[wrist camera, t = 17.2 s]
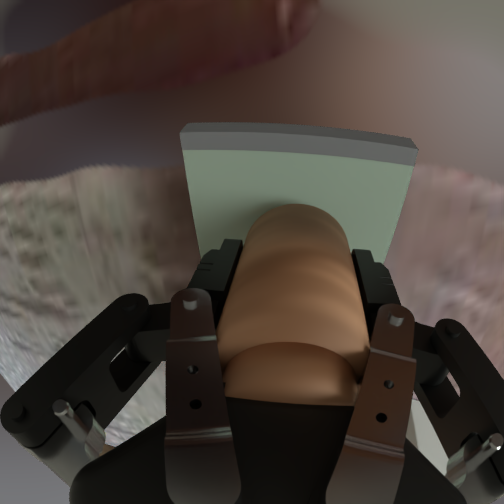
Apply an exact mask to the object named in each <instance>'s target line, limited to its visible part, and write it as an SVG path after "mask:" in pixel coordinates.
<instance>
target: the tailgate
mask: <svg viewBox="0 0 504 504" xmlns="http://www.w3.org/2000/svg"><path fill="white" fill-rule="evenodd" d="M180 140H181V146H182V151H183V157H184V164H185V170H186V177H187V183H188V189H189V195H190V201H191V207H192V213H193V218H194V224H195V229H196V235H197V240H198V246H199V251H200V256H201V259H202V257H203V255H204V254H206V253H207V252H208V251H210V250H211V249H217V250H220V248H221V245H222V243H223V241H224V239H239V240H242V241H243V246H244V243H245V240H246V237H247V234H248V231H249V230H250V228H251V226H252V225H253V223H254V222H255V221H256V220H257V219H258V218H259V217H260V216H261V215H263V214H264V213H265V212H267V211H269V210H271V209H273V208H276V207H278V206H282V205H286V204H305V205H310V206H314V207H317V208H319V209H322V210H324V211H325V212H327V213H329V214H330V215H331V216H332V217H334V218H335V219H336V220H337V221H338V223H339V224H340V225H341V227H342V228H343V230H344V232H345V234H346V237H347V240H348V244H349V248H350V252H352V250H353V249H364V250H370V251H371V253H372V256H373V259H374V262H381V263H382V264H383V263H384V260H385V258H386V255H387V252H388V249H389V246H390V243H391V240H392V238H393V235H394V232H395V228H396V225H397V222H398V219H399V216H400V213H401V210H402V206H403V203H404V200H405V196H406V193H407V189H408V186H409V182H410V178H411V175H412V171H413V167H414V165H415V161H416V157H417V153H418V148H417V147H416V145H415V144H414V142H413V141H412V140H411V139H410V138H405V137H399V136H393V135H387V134H381V133H374V132H366V131H358V130H350V129H341V128H332V127H321V126H308V125H295V124H276V123H241V122H240V123H239V122H223V123H222V122H218V123H217V122H214V123H188V124H187V125H186V126H185V127H184V128H183V129H182V130H181V132H180Z"/></svg>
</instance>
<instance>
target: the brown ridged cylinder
mask: <svg viewBox="0 0 504 504" xmlns="http://www.w3.org/2000/svg"><path fill="white" fill-rule="evenodd" d="M215 334H216V338H217V345H218V352H219V359H220V366H221V372H222V379H223V382H225V383H226V385H225V389H224V392H225V396H226V397H234V398H242V399H250V400H259V401H269V402H280V403H292V404H308V405H333V406H353V405H354V402H355V398H356V397H355V392H356V395H357V392H358V389H357V382H358V380H359V378H360V375H361V373H362V371H363V368H364V366H365V363H366V361H367V358H368V356H369V349H370V339H369V334H368V329H367V324H366V319H365V314H364V309H363V304H362V299H361V295H360V290H359V286H358V281H357V277H356V273H355V268H354V264H353V260H352V256H351V252H350V248H349V244H348V240H347V237H346V234H345V232H344V230H343V228H342V227H341V225H340V224H339V223H338V221H337V220H336V219H335V218H334V217H332V216H331V215H330V214H329V213H327V212H325V211H324V210H322V209H319V208H317V207H314V206H310V205H305V204H286V205H282V206H278V207H276V208H273V209H271V210H269V211H267V212H265V213H264V214H263V215H261V216H260V217H259V218H258V219H257V220H256V221H255V222H254V223H253V225H252V226H251V228H250V230H249V231H248V234H247V237H246V240H245V243H244V246H243V249H242V252H241V255H240V258H239V261H238V264H237V267H236V270H235V273H234V276H233V280H232V283H231V286H230V289H229V292H228V295H227V298H226V301H225V304H224V307H223V311H222V314H221V317H220V320H219V323H218V326H217V329H216V332H215Z"/></svg>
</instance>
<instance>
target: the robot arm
mask: <svg viewBox="0 0 504 504" xmlns="http://www.w3.org/2000/svg"><path fill="white" fill-rule="evenodd" d="M242 249H243V241H242V240H239V239H224V241H223V243H222V245H221V248H220V250H217V249H211V250H210V251H208V252H207V253H206V254H204V255H203V257H202V259H201V261H200V264H199V265H198V267H197V270H196V271H195V273H194V275H193V277H192V279H191V281H190V283H189V285H188V287H187V289H183V290H181V291H179V292H177V293H176V294H175V295H174V296H173V297H172V299H171V302H169V303H164V304H154V305H149V303H148V300H147V298H146V297H145V296H143V295H141V294H136V293H132V294H126V295H123V296H121V297H119V298H117V299H116V300H115V301H114V302H112V303H111V304H110V305H109V306H108V307H107V308H106V309H104V310H103V311H102V312H101V313H100V314H99V315H98V316H97V317H95V318H94V319H93V320H92V321H91V322H90V323H89V324H88V325H86V326H85V327H84V328H83V329H82V330H81V331H80V332H79V333H78V334H76V335H75V336H74V337H73V338H72V339H71V340H70V341H69V342H68V343H67V344H65V345H64V346H63V347H62V348H61V349H60V350H59V351H58V352H57V353H56V354H55V355H54V356H53V357H51V358H50V359H49V360H48V361H47V362H46V363H45V364H44V365H43V366H42V367H41V368H40V369H39V370H38V371H37V372H36V373H35V374H34V375H33V376H31V377H30V378H29V379H28V380H27V381H26V382H25V383H24V384H23V385H22V386H21V387H20V388H19V389H18V390H17V391H16V392H15V393H14V394H13V395H12V396H11V397H10V398H9V399H8V400H7V401H6V402H5V404H4V405H3V407H2V410H1V414H0V419H1V423H2V425H3V427H4V428H5V429H6V430H7V431H8V432H9V433H10V434H11V435H12V436H13V437H14V438H15V439H16V440H17V441H18V443H19V444H20V445H21V446H22V447H23V448H24V449H26V450H27V451H28V452H29V453H30V454H31V455H33V456H34V457H35V458H36V459H38V460H39V461H41V462H43V463H44V464H45V465H46V466H48V467H49V468H50V469H51V470H52V471H53V472H54V473H55V474H56V475H57V476H58V477H59V478H61V480H63V481H64V482H65V483H66V484H67V485H68V486H69V487H71V488H70V493H69V496H70V497H69V501H70V504H490V503H492V502H494V501H495V500H497V499H499V498H500V497H502V496H504V380H503V378H502V377H501V376H500V374H499V373H498V371H497V370H496V368H495V367H494V366H493V364H492V363H491V361H490V360H489V359H488V357H487V356H486V354H485V353H484V352H483V350H482V349H481V348H480V346H479V345H478V344H477V342H476V341H475V340H474V338H473V337H472V336H471V335H470V333H469V332H468V331H467V329H466V328H465V327H464V326H463V325H462V324H461V323H459V322H458V321H455V320H453V319H441V320H439V321H438V322H437V323H436V325H435V327H430V326H427V325H423V324H420V323H417V322H415V318H414V316H413V314H412V312H411V311H410V310H408V309H407V308H406V307H404V306H402V305H401V303H400V300H399V297H398V295H397V292H396V289H395V286H394V284H393V281H392V279H391V276H390V273H389V270H388V269H387V268H386V267H385V266H384V265H383V264H382V263H381V262H374V259H373V256H372V253H371V251H370V250H364V249H353V250H352V252H351V256H352V260H353V264H354V268H355V273H356V277H357V281H358V286H359V290H360V295H361V299H362V304H363V309H364V314H365V319H366V324H367V329H368V334H369V339H370V349H369V356H368V358H367V361H366V363H365V366H364V368H363V371H362V373H361V375H360V378H359V380H358V382H357V389H358V392H357V395H356V392H355V397H356V398H355V402H354V405H353V406H333V405H308V404H292V403H280V402H269V401H259V400H250V399H242V398H234V397H226V396H225V392H224V389H225V385H226V383H225V382H223V379H222V372H221V366H220V359H219V352H218V345H217V338H216V334H215V332H216V329H217V326H218V323H219V320H220V317H221V314H222V311H223V307H224V304H225V301H226V298H227V295H228V292H229V289H230V286H231V283H232V280H233V276H234V273H235V270H236V267H237V264H238V261H239V258H240V255H241V252H242ZM124 347H125V349H124V350H123V351H122V352H121V353H120V354H119V355H118V356H117V357H116V358H115V359H114V360H113V361H112V359H113V358H114V357H115V356H116V355H117V354H118V353H119V352H120V351H121V350H122V349H123V348H124ZM111 361H112V362H111ZM161 361H166V416H164V417H163V418H161V419H160V420H158V421H157V422H155V423H154V424H152V425H150V426H149V427H147V428H146V429H144V430H143V431H141V432H140V433H138V434H136V435H135V436H133V437H132V438H130V439H128V440H127V441H125V442H123V443H122V444H120V445H118V446H117V447H115V448H113V449H112V450H110V451H108V452H107V453H105V454H103V455H102V456H100V457H99V454H100V453H101V452H102V451H103V446H104V443H105V439H106V436H105V432H104V429H105V428H106V427H107V426H108V425H109V424H110V422H111V421H112V420H113V419H114V418H115V416H116V415H117V414H118V413H119V412H120V411H121V409H122V408H123V407H124V406H125V405H126V403H127V402H128V401H129V400H130V399H131V398H132V396H133V395H134V394H135V393H136V392H137V390H138V389H139V388H140V387H141V386H142V385H143V383H144V382H145V381H146V380H147V379H148V377H149V376H150V375H151V374H152V373H153V371H154V370H155V369H156V368H157V367H158V366H159V364H160V363H161ZM449 372H450V373H451V375H452V376H453V378H454V380H455V381H456V383H457V384H458V386H459V388H460V397H459V396H458V394H457V392H456V391H455V389H454V387H453V386H452V384H451V382H450V381H449V379H448V377H447V374H448V373H449ZM413 390H414V392H415V394H416V396H417V398H418V399H419V401H420V403H421V405H422V407H423V409H424V411H425V413H426V415H427V417H428V419H429V421H430V423H431V424H432V426H433V428H434V430H435V432H436V434H437V436H438V438H439V440H440V443H441V445H442V447H443V449H444V451H445V453H446V455H447V457H448V459H449V460H448V462H447V467H446V471H447V473H446V474H445V476H444V475H443V474H442V473H441V472H440V471H439V470H438V469H437V468H436V467H435V466H434V465H433V464H432V463H431V462H430V461H429V460H428V459H427V458H426V457H425V456H424V455H423V454H422V453H421V452H420V451H419V450H418V449H417V448H416V447H415V446H414V445H413V444H412V443H411V442H410V441H409V440H408V439H407V438H406V433H407V428H408V422H409V416H410V410H411V404H412V397H413Z"/></svg>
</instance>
